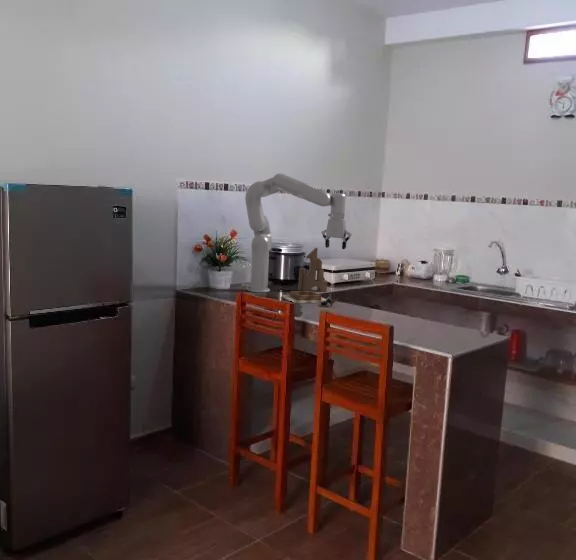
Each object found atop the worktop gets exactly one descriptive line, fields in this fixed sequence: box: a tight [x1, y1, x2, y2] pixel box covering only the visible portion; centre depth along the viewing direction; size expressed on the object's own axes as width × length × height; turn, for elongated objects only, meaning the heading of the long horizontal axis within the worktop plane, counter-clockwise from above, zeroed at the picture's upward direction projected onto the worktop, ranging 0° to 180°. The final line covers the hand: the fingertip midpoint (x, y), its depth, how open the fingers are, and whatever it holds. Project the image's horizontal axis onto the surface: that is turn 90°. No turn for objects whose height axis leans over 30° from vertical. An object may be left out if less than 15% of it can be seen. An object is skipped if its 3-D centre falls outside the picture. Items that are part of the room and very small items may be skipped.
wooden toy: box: [297, 247, 328, 293], centre depth 360 cm, size 16×7×25 cm, turn 108°
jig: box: [281, 290, 327, 304], centre depth 331 cm, size 20×18×4 cm
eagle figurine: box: [320, 292, 339, 307], centre depth 319 cm, size 8×7×9 cm
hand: (335, 248), depth 343 cm, fingers open, 9 cm apart
